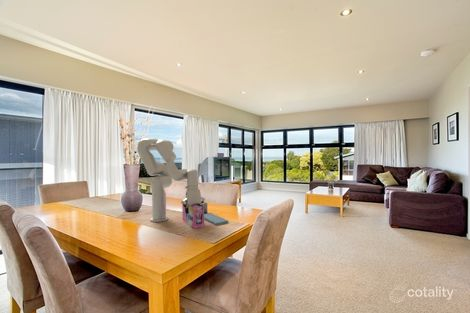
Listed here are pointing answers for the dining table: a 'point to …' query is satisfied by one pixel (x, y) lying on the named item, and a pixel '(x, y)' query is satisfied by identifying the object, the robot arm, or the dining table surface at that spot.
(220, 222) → the board
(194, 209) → the gum box
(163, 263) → the dining table surface
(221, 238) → the dining table surface
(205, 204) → the metal canister
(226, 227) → the dining table surface
